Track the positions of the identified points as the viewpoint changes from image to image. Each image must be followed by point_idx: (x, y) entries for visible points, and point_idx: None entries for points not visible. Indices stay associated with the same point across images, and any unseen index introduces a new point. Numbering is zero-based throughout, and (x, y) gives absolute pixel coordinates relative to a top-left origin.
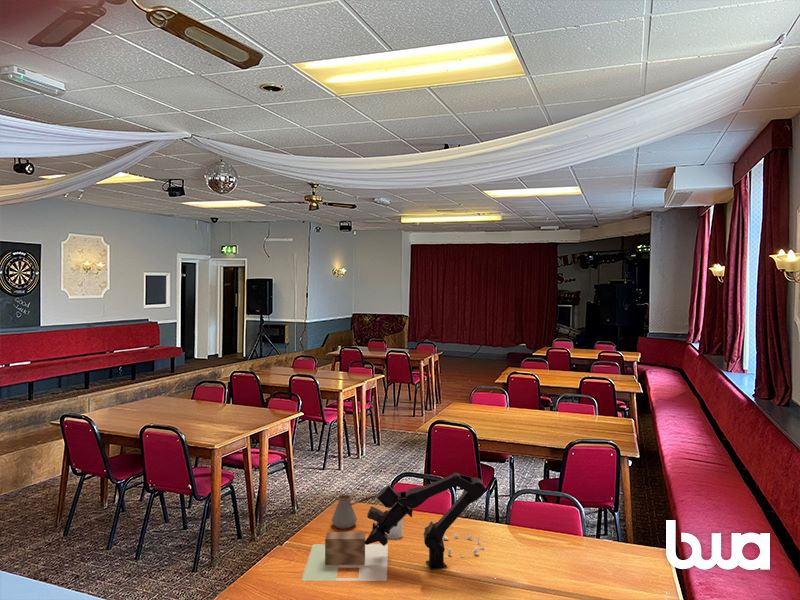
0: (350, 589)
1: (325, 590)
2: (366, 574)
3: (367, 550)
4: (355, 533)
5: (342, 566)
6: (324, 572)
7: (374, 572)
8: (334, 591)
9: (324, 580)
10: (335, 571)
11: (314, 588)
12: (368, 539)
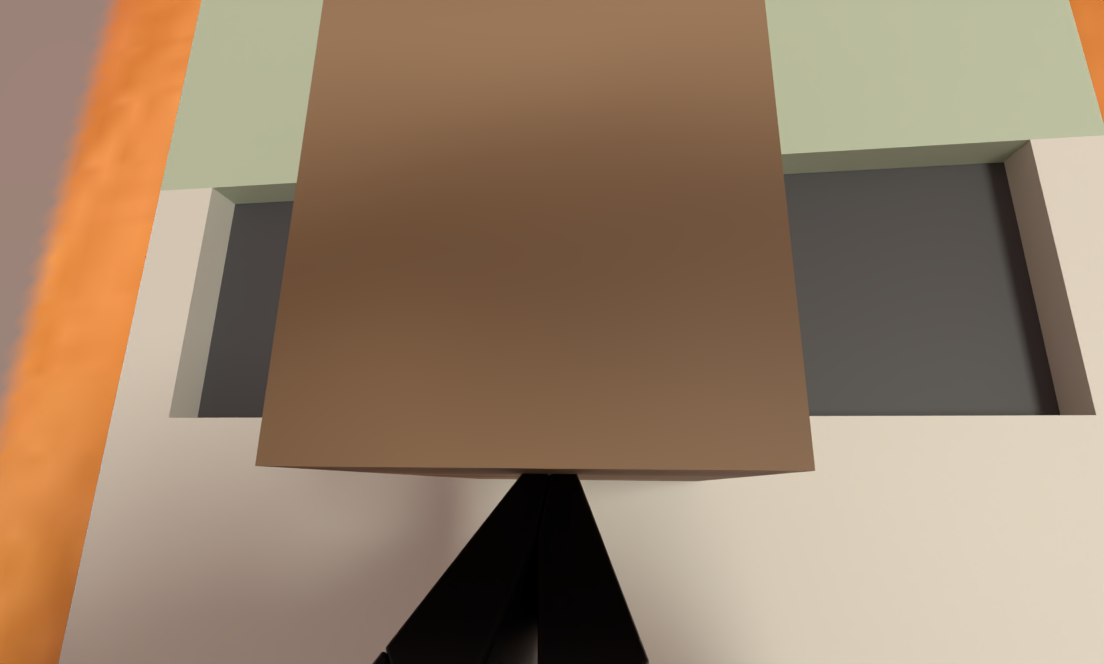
0: (84, 356)
1: (119, 143)
2: (228, 517)
3: (952, 508)
4: (694, 145)
5: None
6: None
7: (260, 629)
8: (86, 217)
9: (185, 92)
10: None
11: (170, 55)
12: (444, 597)
